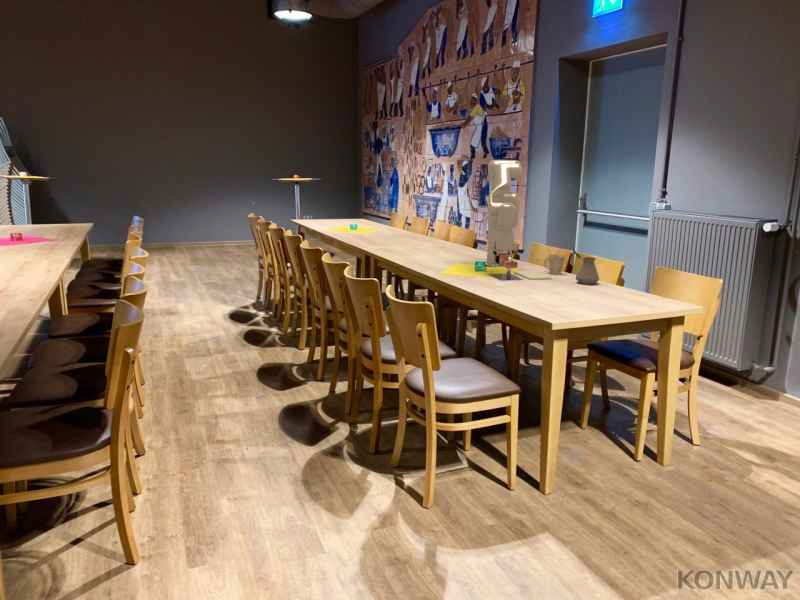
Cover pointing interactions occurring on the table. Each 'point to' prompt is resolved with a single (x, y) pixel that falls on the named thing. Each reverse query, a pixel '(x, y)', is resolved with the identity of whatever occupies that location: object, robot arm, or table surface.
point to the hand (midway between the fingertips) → (502, 262)
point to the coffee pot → (587, 271)
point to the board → (532, 275)
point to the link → (506, 261)
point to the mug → (555, 264)
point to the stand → (506, 276)
